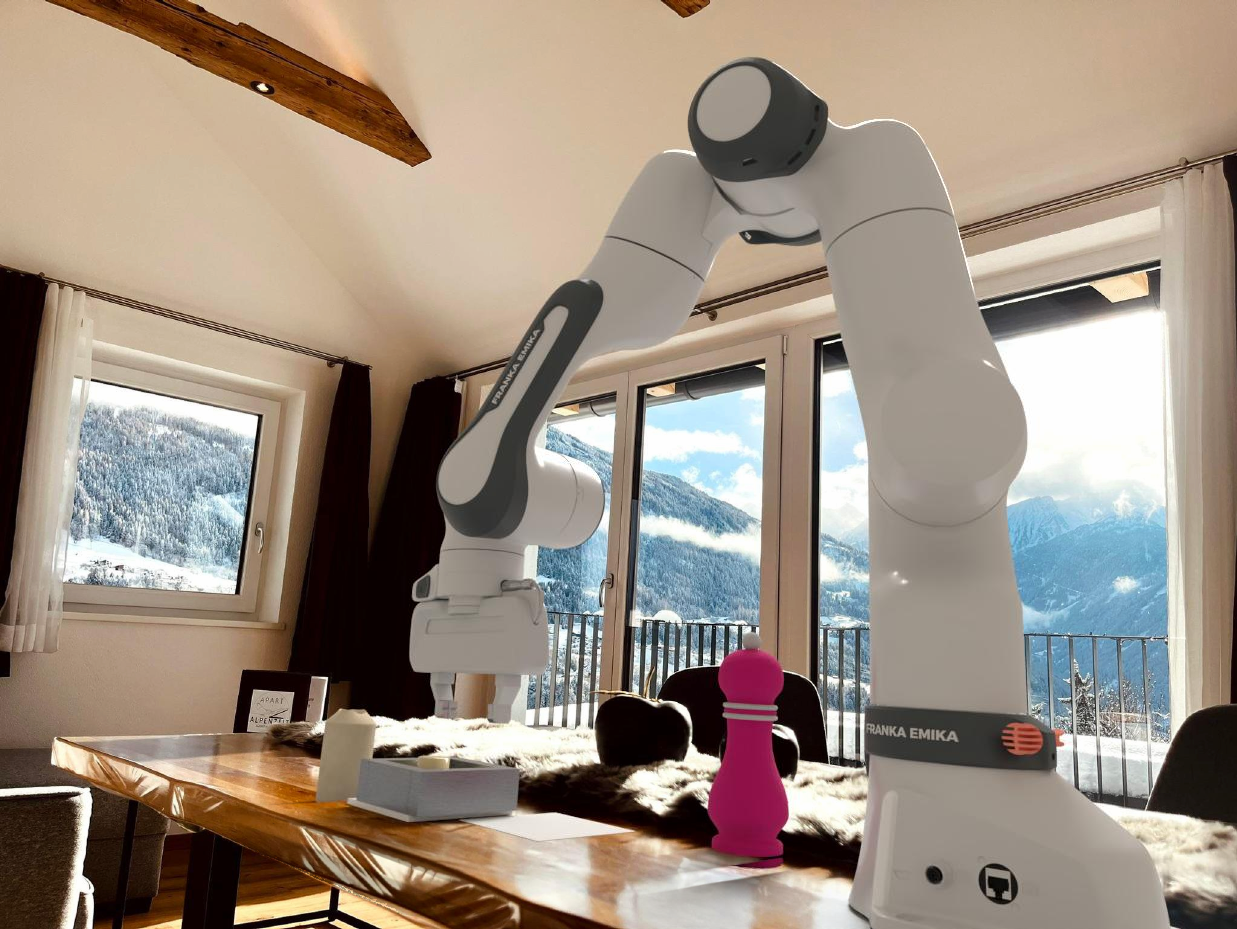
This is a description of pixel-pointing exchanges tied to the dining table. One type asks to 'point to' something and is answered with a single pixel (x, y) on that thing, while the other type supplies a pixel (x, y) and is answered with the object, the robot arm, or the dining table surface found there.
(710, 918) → the dining table surface
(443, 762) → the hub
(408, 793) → the collar
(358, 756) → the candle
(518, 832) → the mat
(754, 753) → the pepper mill
